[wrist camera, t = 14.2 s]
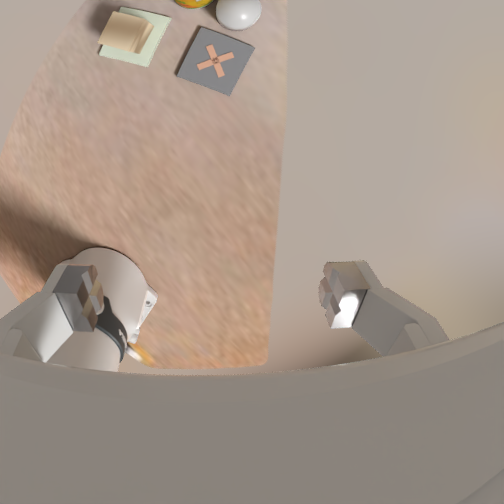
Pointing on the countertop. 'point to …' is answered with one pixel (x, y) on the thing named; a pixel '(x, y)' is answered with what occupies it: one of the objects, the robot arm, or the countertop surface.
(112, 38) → the block
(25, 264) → the countertop surface
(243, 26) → the light grey dome
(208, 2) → the supplement bottle
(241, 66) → the pad
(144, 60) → the pad
